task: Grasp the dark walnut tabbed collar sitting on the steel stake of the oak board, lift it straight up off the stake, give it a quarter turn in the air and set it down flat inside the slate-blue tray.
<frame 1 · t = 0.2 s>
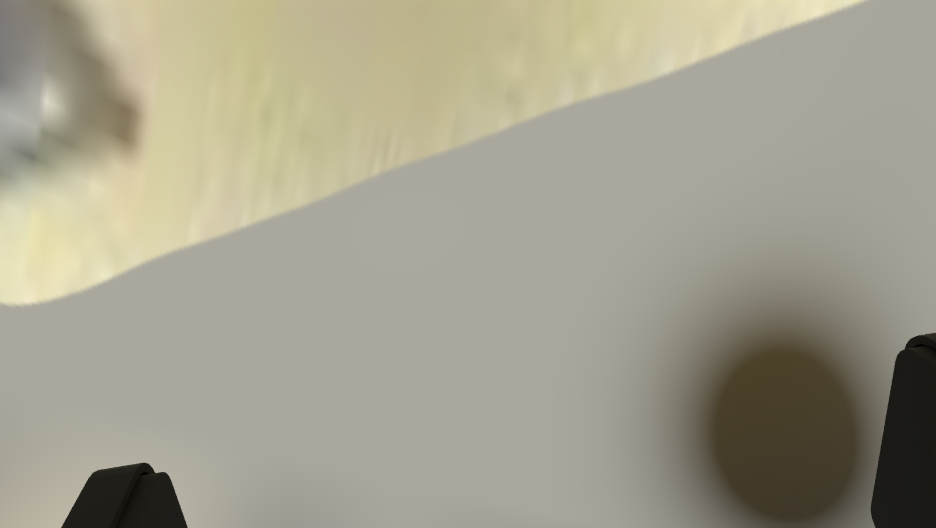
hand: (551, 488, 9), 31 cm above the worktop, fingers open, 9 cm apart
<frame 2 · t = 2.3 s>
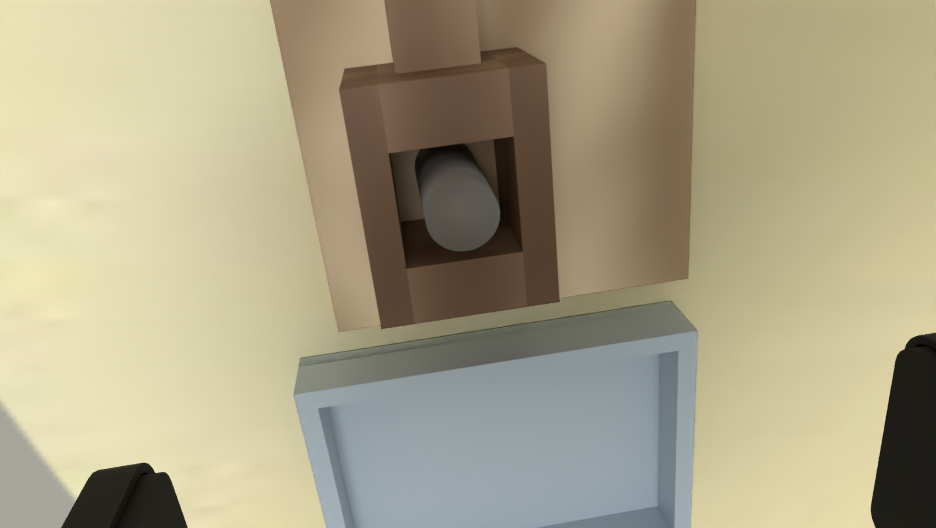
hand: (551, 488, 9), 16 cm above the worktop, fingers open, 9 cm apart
stake board: (497, 123, 23), on the worktop
collar: (444, 166, 23), point 1 cm above the worktop, touching stake board
tray: (501, 439, 29), on the worktop
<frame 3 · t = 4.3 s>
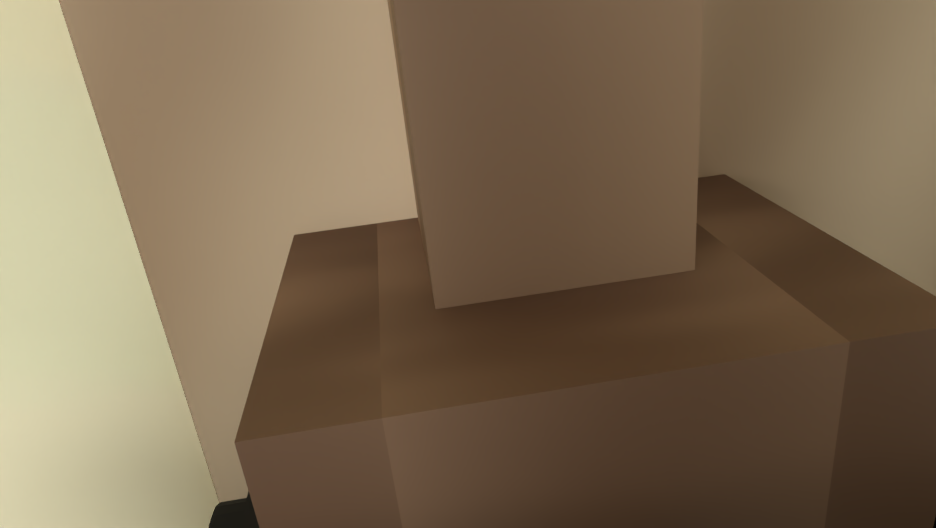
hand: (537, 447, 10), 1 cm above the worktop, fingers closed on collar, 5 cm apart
stake board: (647, 325, 10), on the worktop
collar: (533, 434, 10), point 1 cm above the worktop, touching gripper, stake board
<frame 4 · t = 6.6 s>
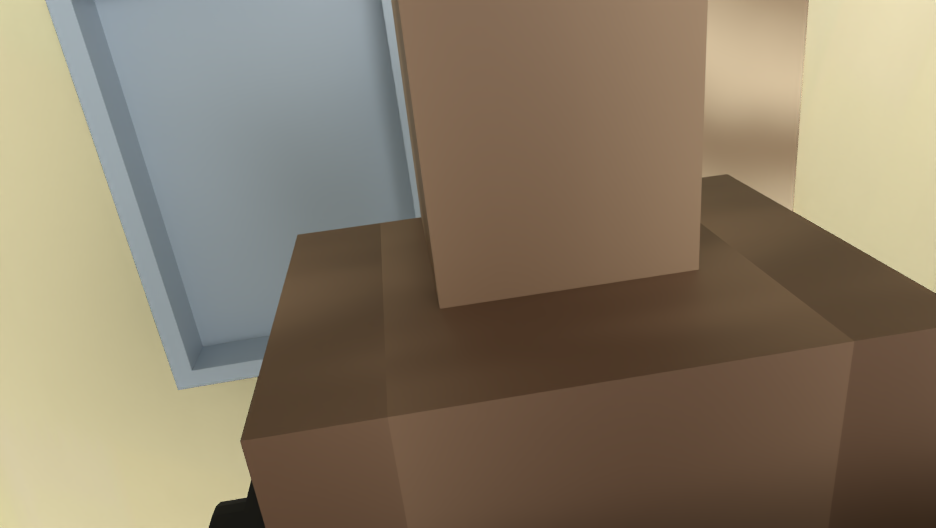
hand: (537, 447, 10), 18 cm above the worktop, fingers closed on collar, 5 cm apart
stake board: (627, 140, 27), on the worktop
collar: (535, 434, 10), point 17 cm above the worktop, touching gripper
tray: (282, 165, 25), on the worktop
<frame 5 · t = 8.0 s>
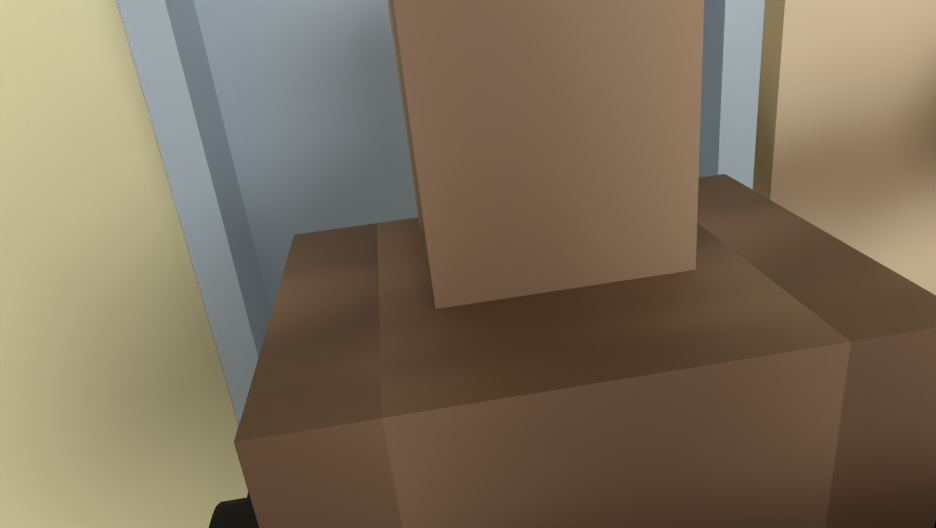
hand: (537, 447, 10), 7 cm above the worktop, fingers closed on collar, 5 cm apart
collar: (533, 434, 10), point 6 cm above the worktop, touching gripper
tray: (467, 202, 15), on the worktop
when the fingers open (3 cm above the worktop, at t = 9.0 s): collar drops 2 cm, resting on tray.
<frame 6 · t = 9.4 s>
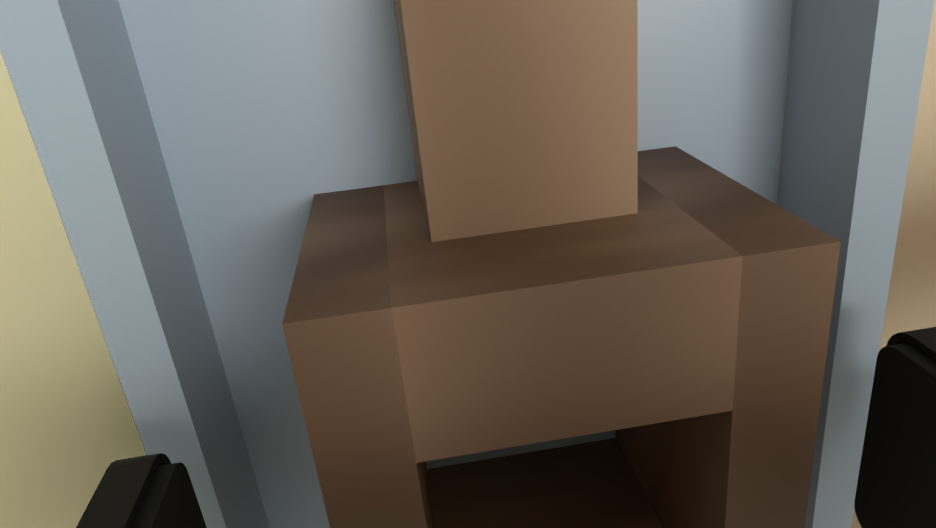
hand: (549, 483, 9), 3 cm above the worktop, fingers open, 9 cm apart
collar: (515, 371, 12), point 1 cm above the worktop, touching tray
tray: (496, 273, 12), on the worktop
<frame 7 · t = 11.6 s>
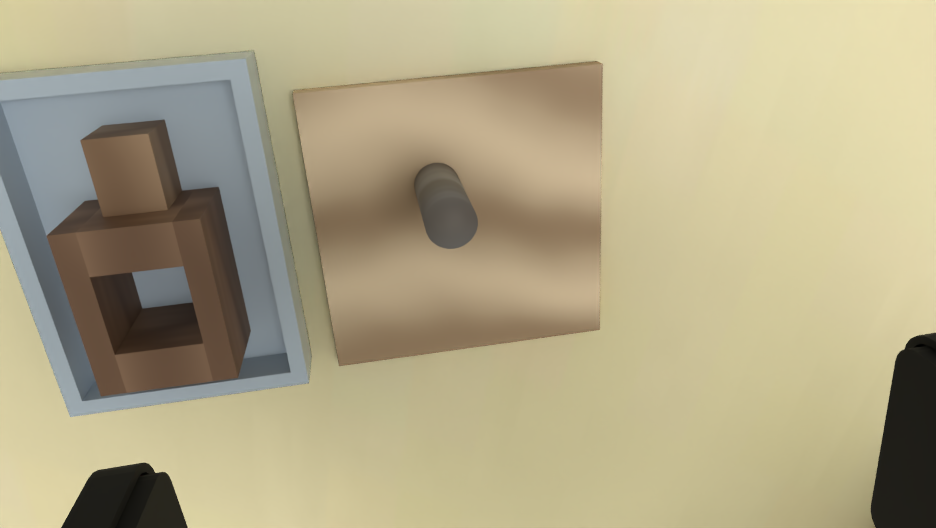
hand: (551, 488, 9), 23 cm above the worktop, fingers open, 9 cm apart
stake board: (460, 218, 32), on the worktop
collar: (172, 269, 30), point 1 cm above the worktop, touching tray
tray: (164, 231, 30), on the worktop
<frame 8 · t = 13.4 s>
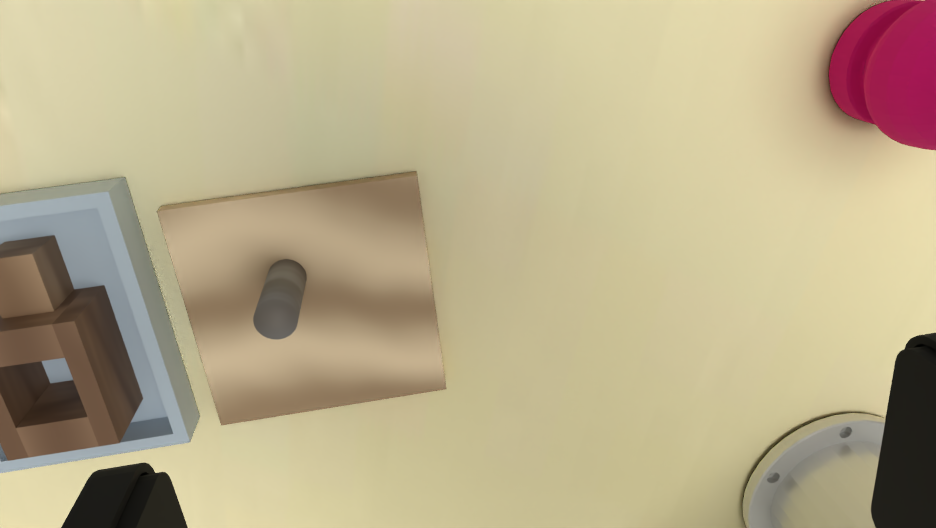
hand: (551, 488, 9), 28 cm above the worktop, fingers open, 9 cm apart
stake board: (314, 300, 38), on the worktop
collar: (72, 351, 37), point 1 cm above the worktop, touching tray
pepper mill: (879, 61, 37), on the worktop
tray: (65, 320, 37), on the worktop
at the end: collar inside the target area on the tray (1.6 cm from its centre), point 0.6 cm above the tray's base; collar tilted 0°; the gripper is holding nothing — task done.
